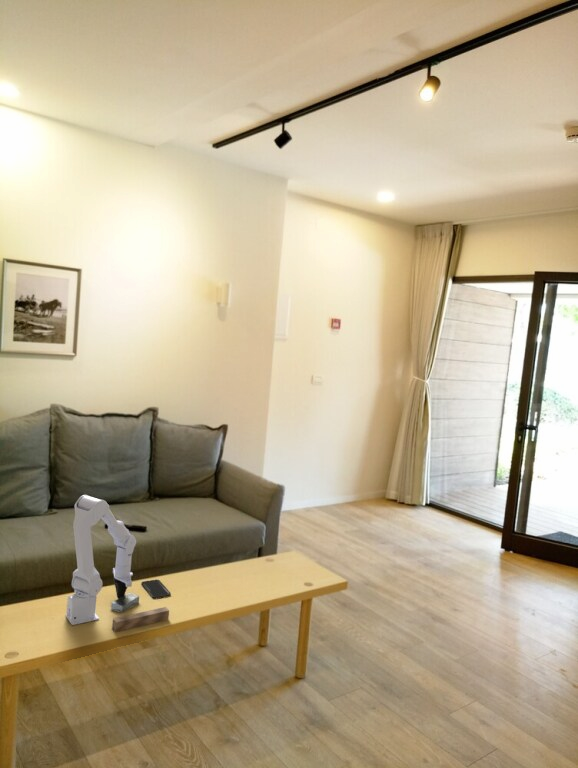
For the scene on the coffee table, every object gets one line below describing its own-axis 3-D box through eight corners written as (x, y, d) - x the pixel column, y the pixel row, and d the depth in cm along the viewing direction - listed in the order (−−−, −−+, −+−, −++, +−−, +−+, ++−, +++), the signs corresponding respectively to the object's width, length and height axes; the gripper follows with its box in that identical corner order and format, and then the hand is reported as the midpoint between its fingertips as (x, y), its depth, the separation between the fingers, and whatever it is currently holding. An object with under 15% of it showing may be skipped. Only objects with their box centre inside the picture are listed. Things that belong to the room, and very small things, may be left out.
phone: (158, 579, 236) (171, 594, 223) (158, 581, 236) (171, 596, 223) (140, 582, 231) (152, 597, 219) (140, 584, 231) (152, 600, 219)
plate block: (121, 614, 205) (122, 606, 205) (111, 610, 207) (111, 602, 207) (138, 603, 215) (139, 596, 215) (128, 600, 217) (128, 592, 216)
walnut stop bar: (115, 632, 192) (116, 622, 192) (112, 628, 194) (112, 618, 194) (168, 619, 204) (169, 610, 204) (164, 615, 207) (165, 606, 206)
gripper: (140, 569, 211) (137, 603, 212) (126, 555, 222) (123, 588, 223) (122, 572, 207) (119, 607, 207) (108, 558, 218) (105, 591, 219)
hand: (120, 597), depth 215 cm, fingers closed
